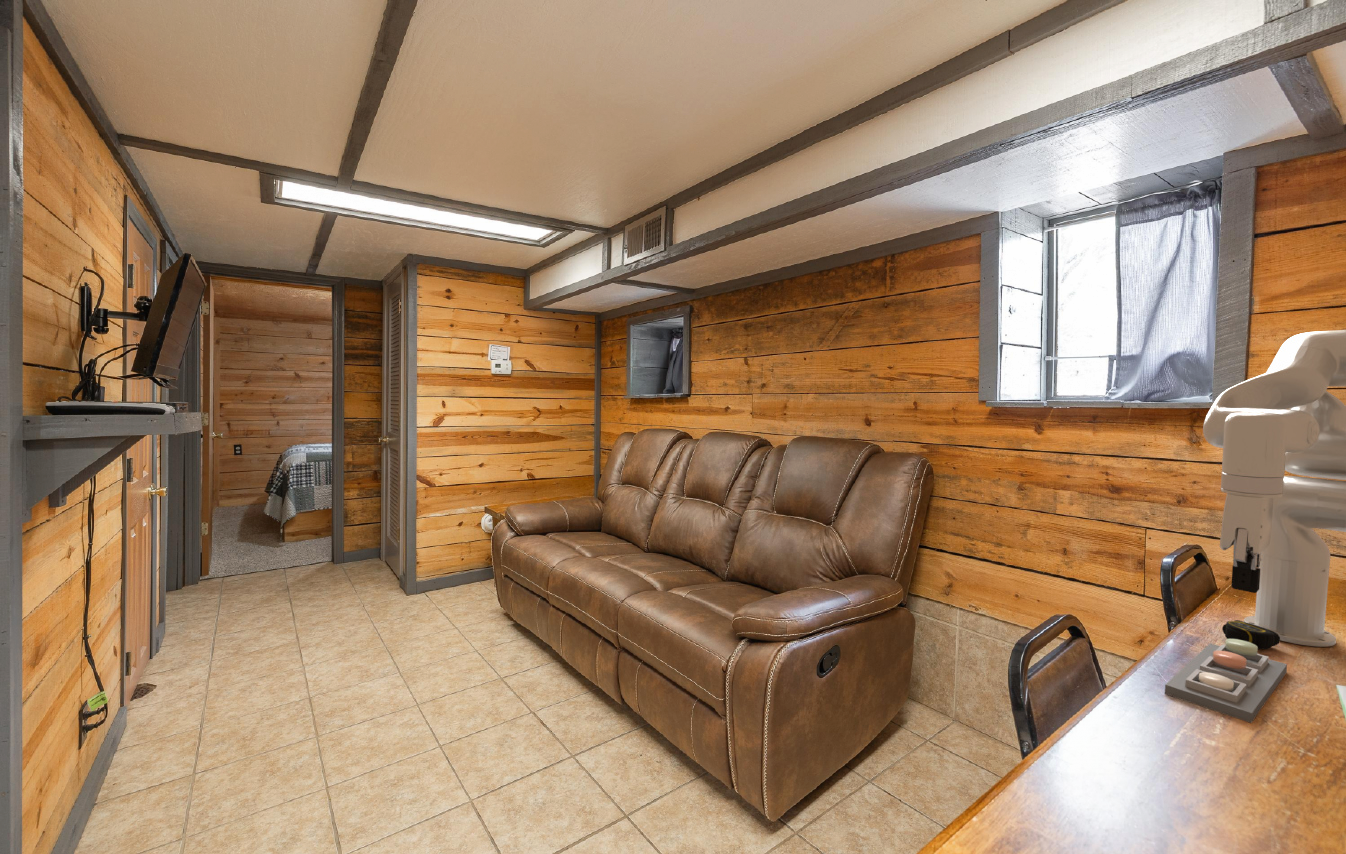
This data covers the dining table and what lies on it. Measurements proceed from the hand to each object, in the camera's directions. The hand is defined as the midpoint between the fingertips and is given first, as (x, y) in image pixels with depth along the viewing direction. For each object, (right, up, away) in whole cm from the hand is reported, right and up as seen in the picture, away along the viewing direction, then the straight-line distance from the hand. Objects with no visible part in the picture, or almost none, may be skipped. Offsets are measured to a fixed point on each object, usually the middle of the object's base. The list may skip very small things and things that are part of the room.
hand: (1245, 589), depth 100 cm
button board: (-6, -15, -3) cm, 16 cm away
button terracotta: (-6, -11, -3) cm, 13 cm away
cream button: (-13, -13, -8) cm, 20 cm away
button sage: (0, -11, +1) cm, 11 cm away
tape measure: (+12, -14, +12) cm, 22 cm away
